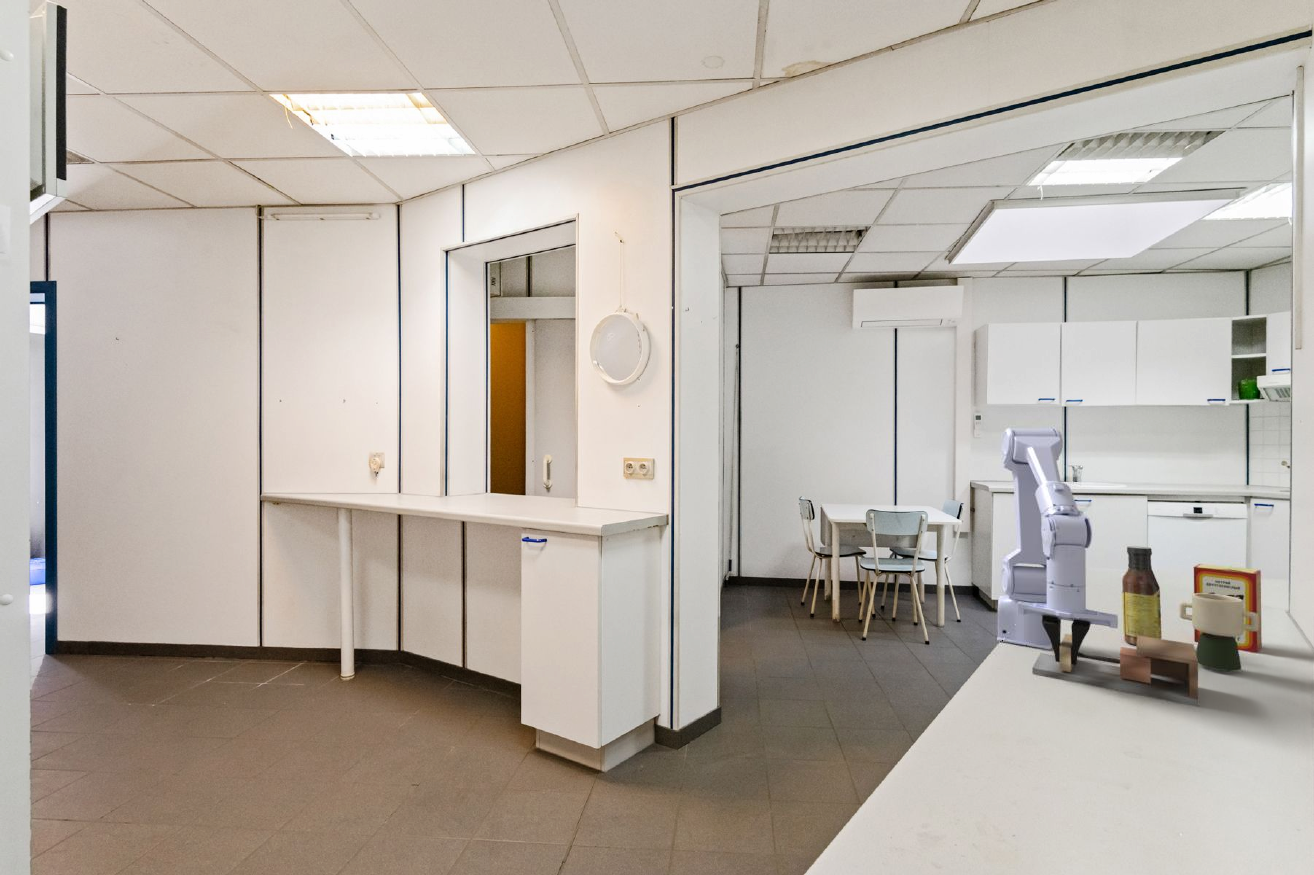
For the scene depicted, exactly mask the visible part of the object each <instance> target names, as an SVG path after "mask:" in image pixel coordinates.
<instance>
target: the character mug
mask: <svg viewBox="0 0 1314 875" xmlns="http://www.w3.org/2000/svg"><path fill="white" fill-rule="evenodd" d="M1178 606H1179V609H1178V610H1179V617H1180V619H1183V620H1187V621H1191V624H1192V627H1193V629H1196V630H1198V631H1201V632H1203V633H1201V634H1200V636H1199V640H1198V642H1197V647H1196V650H1195V651H1196V655H1197V659H1198V665H1201V666H1204V667H1206V668H1207V669H1208V668H1209V669H1212V670H1218V671H1227V672H1231V671H1238V670H1242V664H1241V656H1240V654H1239V653H1240V652H1239V651H1240V650H1238V646H1237V642H1236V640H1235V639H1234V638H1233V637H1236V636H1241V635H1242V634H1243V632H1244V630H1248V631H1258V629H1259V628H1258V615H1257V614H1256V613H1254V612H1247V611H1244V604H1243V600H1241V599H1239V598H1235V597H1230V596H1225V595H1218V594H1206V593H1195V594H1194V593H1192V595H1191V602H1190V601H1180V602H1179V605H1178ZM1187 608H1190V609H1191V615H1190V614H1187ZM1244 617H1250V618H1251V625H1245V624H1244Z"/></svg>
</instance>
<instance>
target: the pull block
mask: <svg viewBox="0 0 1314 875" xmlns="http://www.w3.org/2000/svg"><path fill="white" fill-rule="evenodd" d="M1071 653H1072V634H1068V633H1065V634H1064V636H1063V638H1062V639H1061V644H1060V670H1063V671H1068V672H1071V670H1072V667H1073V665H1071ZM1077 658H1082V659H1086V660H1093V661H1094V660H1095V661H1099V662H1100V661H1101V662H1106V663H1111V664H1115V665H1116V664H1117V665H1119V667H1120V678H1124V679H1129V680H1135V681H1140V682H1145V683H1151V659H1150V657H1147V656H1141V655H1136V648H1131V647H1125V646H1120V651H1119V658H1113V657H1109V656H1103V655H1097V654H1092V653H1085V652H1080V651H1079V652H1078V657H1077Z"/></svg>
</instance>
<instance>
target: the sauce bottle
mask: <svg viewBox="0 0 1314 875" xmlns="http://www.w3.org/2000/svg"><path fill="white" fill-rule="evenodd" d="M1126 552H1127V555H1128V558H1127V559H1128V564H1127V566H1128V568H1127V571H1126V572H1125V574H1124V575H1123V577H1122V581H1121V583H1122V591H1121V598H1122V599H1121V603H1122V606H1121V607H1122V632H1123V635H1124V636H1123V638H1124V641H1125V642H1126V643H1128V644H1130V645H1132V646H1136V647H1137V636H1144V637H1150V638H1157V639H1162V620H1161V619H1162V614H1161V608H1162V607H1161V588H1160V585H1159V582H1158V581H1157V578H1156V575H1155V574H1154V571H1153V569H1152V567H1153V566H1152V554H1153V551H1152V548H1151V547H1148V546H1139V545H1130V546H1128V545H1127V546H1126Z"/></svg>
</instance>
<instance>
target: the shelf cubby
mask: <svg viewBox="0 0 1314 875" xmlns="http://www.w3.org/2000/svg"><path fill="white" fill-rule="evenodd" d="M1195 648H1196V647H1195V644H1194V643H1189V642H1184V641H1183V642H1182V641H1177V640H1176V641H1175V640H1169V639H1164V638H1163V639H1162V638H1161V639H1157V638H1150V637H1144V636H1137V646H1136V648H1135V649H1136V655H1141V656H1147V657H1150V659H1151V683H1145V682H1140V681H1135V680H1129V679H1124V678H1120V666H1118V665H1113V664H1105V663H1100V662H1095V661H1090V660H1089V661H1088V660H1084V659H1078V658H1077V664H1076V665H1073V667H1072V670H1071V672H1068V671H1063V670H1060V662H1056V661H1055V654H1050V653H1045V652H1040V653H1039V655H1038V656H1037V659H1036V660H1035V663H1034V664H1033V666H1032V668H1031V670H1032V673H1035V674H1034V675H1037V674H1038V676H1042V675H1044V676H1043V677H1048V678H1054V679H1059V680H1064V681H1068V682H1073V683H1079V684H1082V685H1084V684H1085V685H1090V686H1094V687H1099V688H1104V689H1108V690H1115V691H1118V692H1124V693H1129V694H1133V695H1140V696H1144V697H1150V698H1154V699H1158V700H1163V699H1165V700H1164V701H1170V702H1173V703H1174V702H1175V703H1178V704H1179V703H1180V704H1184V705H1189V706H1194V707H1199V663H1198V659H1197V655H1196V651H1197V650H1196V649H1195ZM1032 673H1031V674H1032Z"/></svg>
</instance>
